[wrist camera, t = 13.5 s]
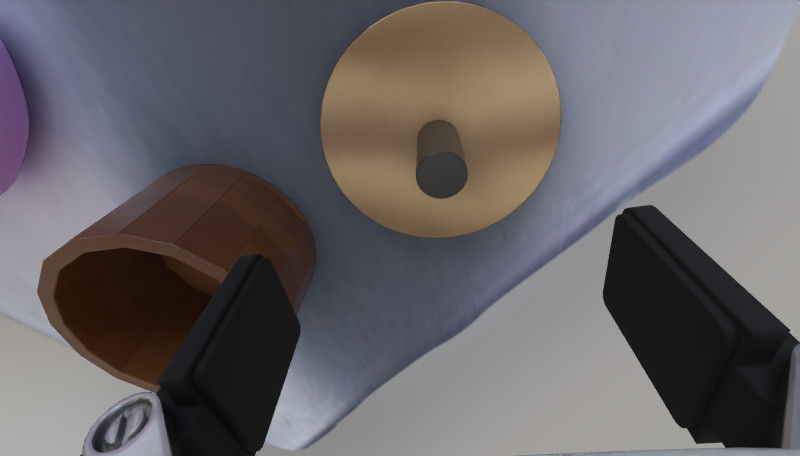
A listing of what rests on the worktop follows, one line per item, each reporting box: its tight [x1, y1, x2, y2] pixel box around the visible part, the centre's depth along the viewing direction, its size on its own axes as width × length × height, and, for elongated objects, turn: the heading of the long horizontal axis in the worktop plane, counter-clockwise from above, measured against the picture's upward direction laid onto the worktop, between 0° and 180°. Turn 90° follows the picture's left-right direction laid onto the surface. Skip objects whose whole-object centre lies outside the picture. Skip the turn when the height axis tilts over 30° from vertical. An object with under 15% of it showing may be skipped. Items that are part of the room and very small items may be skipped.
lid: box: [320, 1, 561, 238], centre depth 19 cm, size 14×14×6 cm
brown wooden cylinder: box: [37, 164, 316, 393], centre depth 24 cm, size 13×13×8 cm
